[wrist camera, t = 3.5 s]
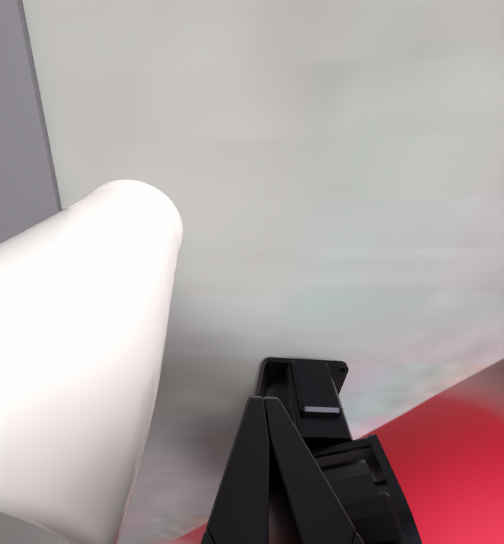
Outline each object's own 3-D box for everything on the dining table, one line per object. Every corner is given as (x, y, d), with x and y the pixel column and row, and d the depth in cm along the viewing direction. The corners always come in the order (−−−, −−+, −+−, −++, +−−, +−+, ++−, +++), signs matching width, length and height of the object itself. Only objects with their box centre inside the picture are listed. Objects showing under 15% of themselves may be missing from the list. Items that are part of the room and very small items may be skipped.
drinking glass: (177, 288, 20) (81, 637, 8) (66, 252, 19) (-295, 622, 6) (214, 192, 17) (157, 512, 5) (85, 139, 16) (-575, 407, 3)
